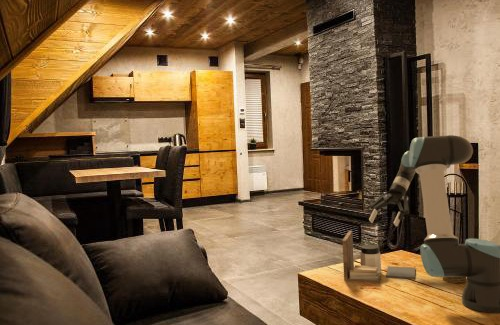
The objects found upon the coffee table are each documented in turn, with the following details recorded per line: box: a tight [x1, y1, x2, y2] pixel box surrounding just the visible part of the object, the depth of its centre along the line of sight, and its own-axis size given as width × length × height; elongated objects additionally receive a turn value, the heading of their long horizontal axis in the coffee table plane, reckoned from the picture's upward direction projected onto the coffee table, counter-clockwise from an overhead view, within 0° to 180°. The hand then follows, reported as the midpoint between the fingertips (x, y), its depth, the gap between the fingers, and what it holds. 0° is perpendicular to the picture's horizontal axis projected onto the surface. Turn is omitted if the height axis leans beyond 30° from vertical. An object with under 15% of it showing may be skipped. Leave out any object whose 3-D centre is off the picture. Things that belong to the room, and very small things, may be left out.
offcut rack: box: [341, 230, 382, 284], centre depth 194 cm, size 20×15×18 cm
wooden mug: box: [442, 277, 467, 284], centre depth 179 cm, size 9×14×18 cm, turn 15°
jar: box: [359, 244, 382, 273], centre depth 198 cm, size 9×8×12 cm
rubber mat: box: [385, 265, 416, 280], centre depth 194 cm, size 14×12×1 cm
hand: (382, 223), depth 204 cm, fingers open, 13 cm apart
